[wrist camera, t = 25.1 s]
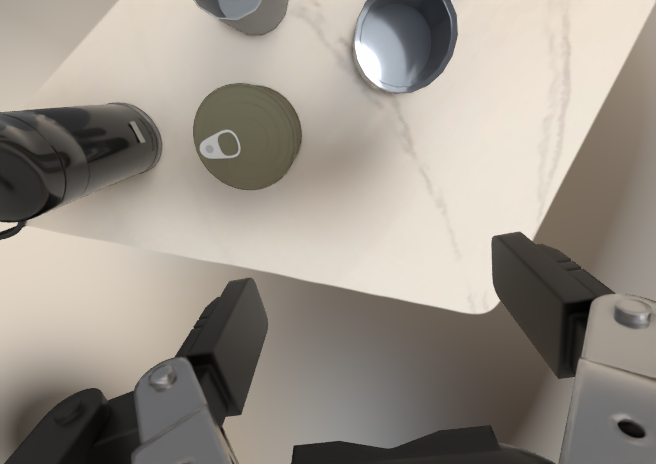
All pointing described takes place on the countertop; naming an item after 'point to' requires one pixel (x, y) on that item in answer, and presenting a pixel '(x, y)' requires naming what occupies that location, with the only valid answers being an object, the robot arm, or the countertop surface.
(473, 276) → the countertop surface
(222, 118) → the can
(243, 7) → the cup
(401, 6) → the pen pot
